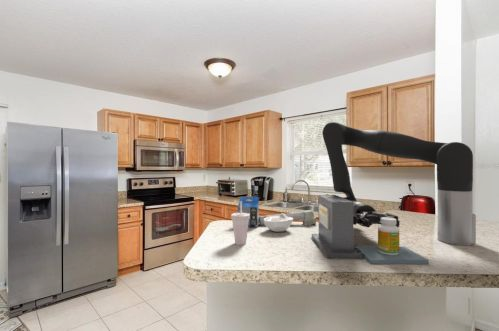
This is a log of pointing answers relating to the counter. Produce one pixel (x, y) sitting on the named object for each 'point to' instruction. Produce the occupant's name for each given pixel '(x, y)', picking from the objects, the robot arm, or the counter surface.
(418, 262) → the mat
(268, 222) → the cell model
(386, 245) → the supplement bottle
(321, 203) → the mounted unit
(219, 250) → the counter surface
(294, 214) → the grey knobbed handle
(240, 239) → the smoothie
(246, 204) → the label tape box
